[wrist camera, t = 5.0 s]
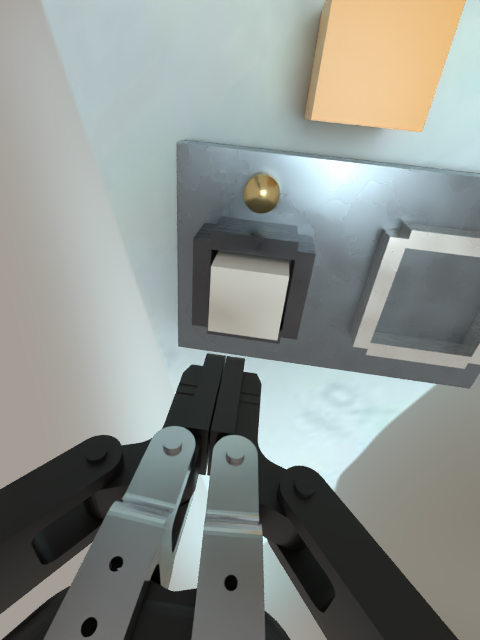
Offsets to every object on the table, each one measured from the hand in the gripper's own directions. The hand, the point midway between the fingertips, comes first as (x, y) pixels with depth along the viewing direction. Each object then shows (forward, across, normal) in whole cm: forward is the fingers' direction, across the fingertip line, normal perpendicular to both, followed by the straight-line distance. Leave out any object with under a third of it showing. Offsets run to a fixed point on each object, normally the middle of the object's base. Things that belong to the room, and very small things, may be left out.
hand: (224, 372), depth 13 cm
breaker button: (+10, 0, 0) cm, 10 cm away
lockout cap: (+12, -4, -11) cm, 17 cm away
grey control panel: (+12, -6, 0) cm, 14 cm away
